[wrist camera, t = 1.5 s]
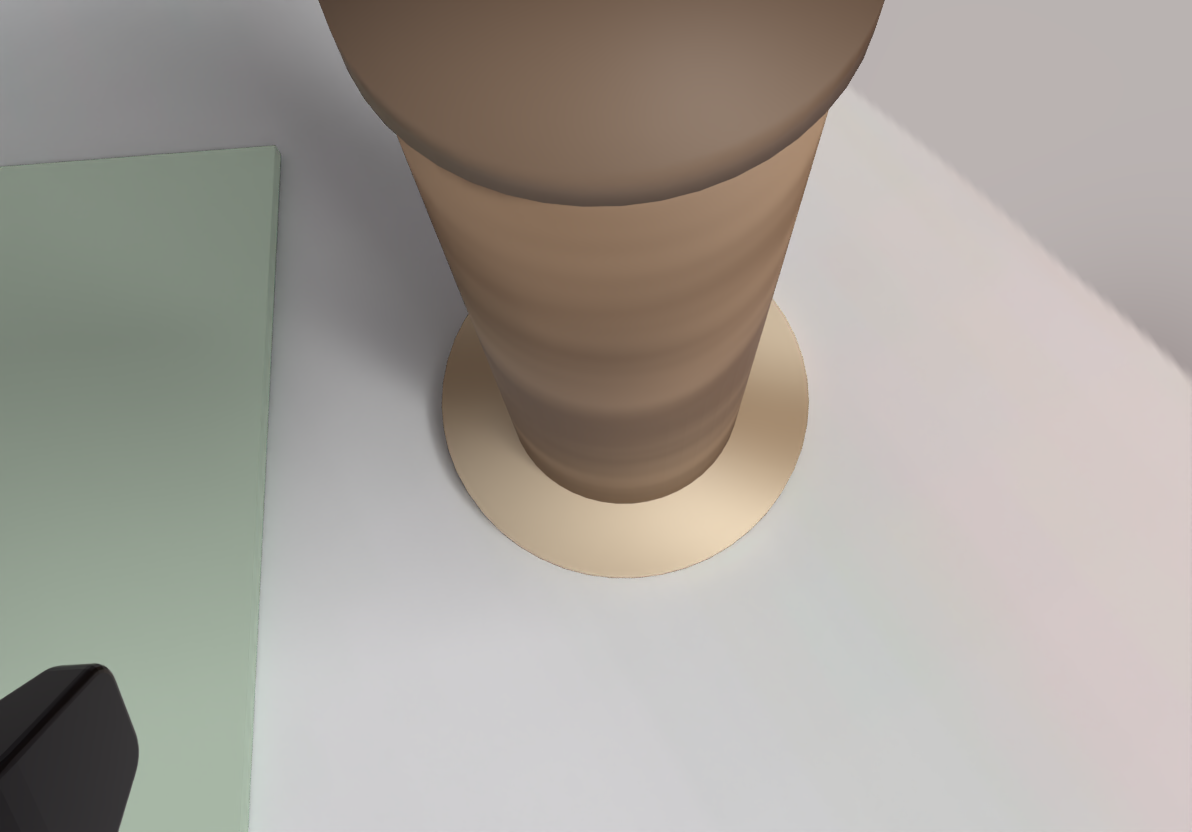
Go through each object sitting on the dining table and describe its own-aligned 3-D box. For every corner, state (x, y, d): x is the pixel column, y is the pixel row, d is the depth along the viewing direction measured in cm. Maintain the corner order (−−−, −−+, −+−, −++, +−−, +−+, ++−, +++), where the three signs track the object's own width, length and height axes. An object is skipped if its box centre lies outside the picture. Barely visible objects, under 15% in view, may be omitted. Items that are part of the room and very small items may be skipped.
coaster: (829, 564, 20) (832, 561, 20) (447, 590, 21) (443, 588, 20) (782, 225, 23) (785, 216, 22) (443, 250, 23) (439, 242, 23)
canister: (761, 503, 20) (946, 142, 8) (504, 521, 21) (299, 193, 8) (734, 271, 22) (853, -319, 10) (497, 289, 22) (319, -272, 10)
